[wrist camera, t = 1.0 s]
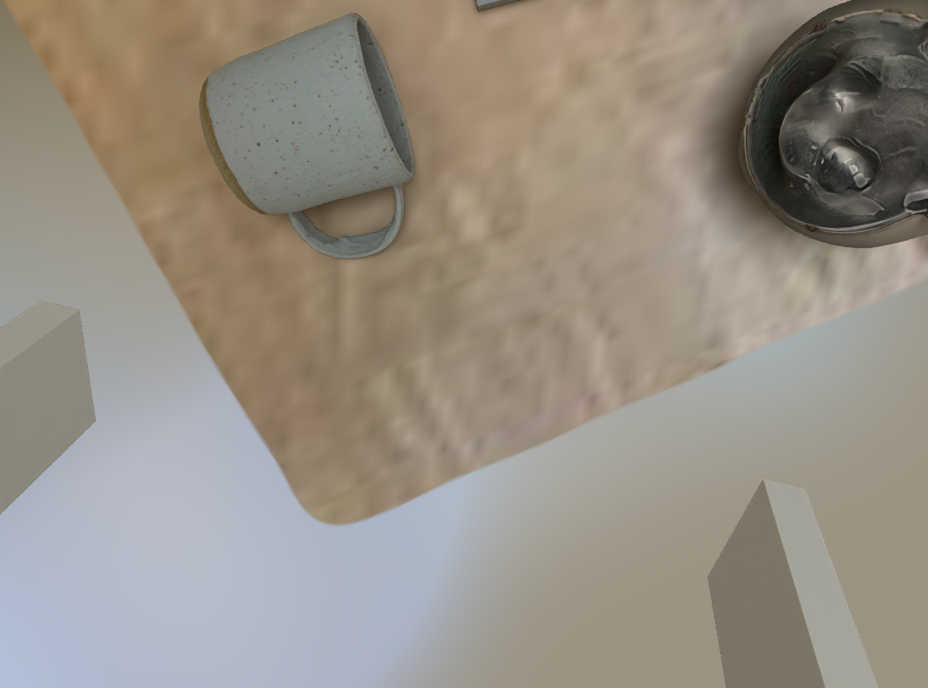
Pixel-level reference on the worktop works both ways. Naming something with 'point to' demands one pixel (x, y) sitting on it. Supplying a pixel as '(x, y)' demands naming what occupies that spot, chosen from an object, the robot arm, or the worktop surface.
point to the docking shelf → (491, 3)
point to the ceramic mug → (311, 129)
